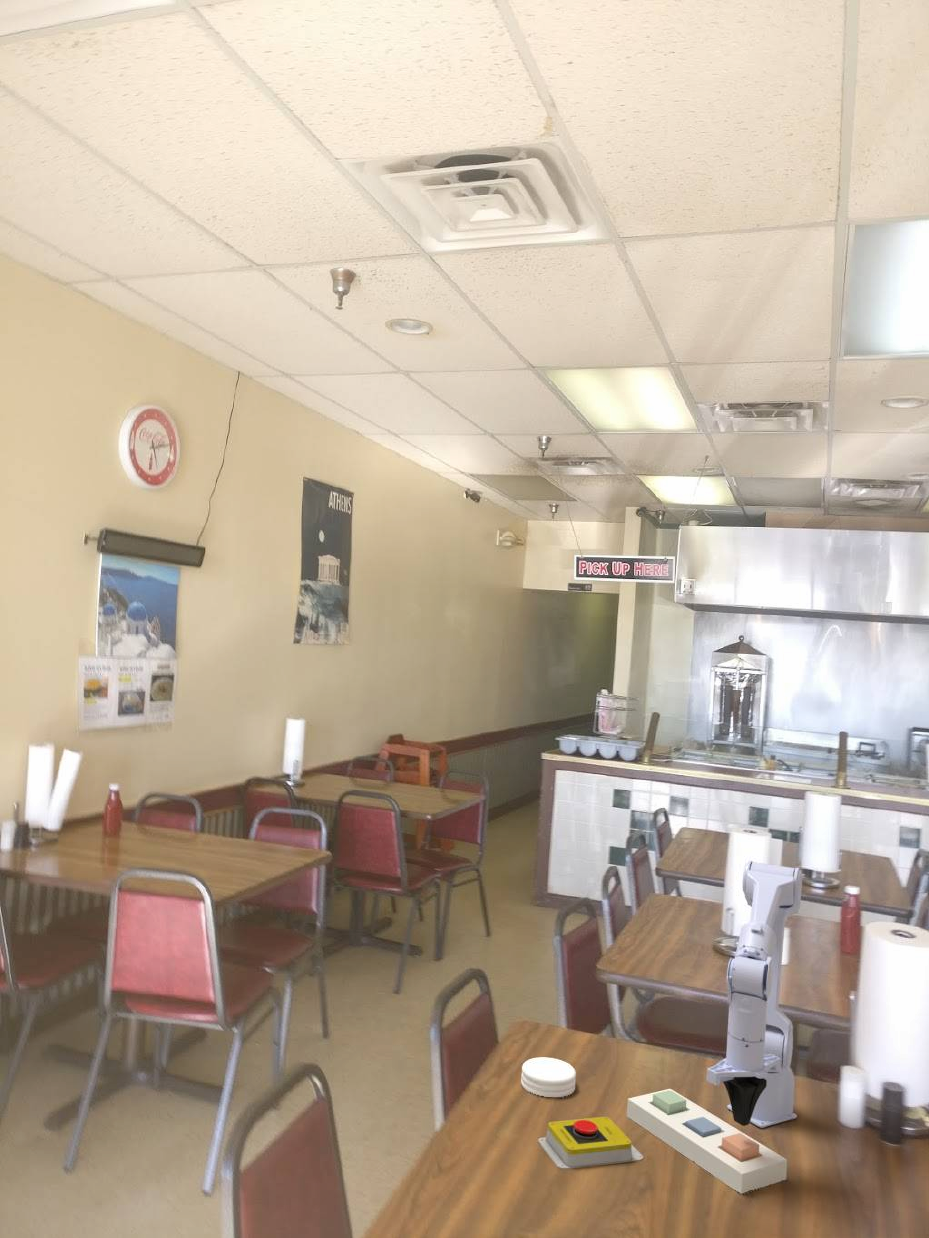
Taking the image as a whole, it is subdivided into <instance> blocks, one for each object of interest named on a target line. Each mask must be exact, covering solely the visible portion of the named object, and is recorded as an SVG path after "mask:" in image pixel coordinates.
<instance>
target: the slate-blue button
mask: <svg viewBox="0 0 929 1238" xmlns="http://www.w3.org/2000/svg"><path fill="white" fill-rule="evenodd" d="M685 1126H686V1127H687V1128H689V1129H690V1130H692V1131H693V1132H695V1133H697V1134H698V1135H700V1136H701V1137H703V1138H704V1137H708V1136H712V1135H715V1134H719V1133H721V1127H719V1126H717V1125H716V1124H714V1123H712V1122H711V1121H709V1120H708V1119H706V1118H704V1117H700V1118H697V1119H693V1120H689V1121H686V1125H685Z"/></svg>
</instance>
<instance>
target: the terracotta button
mask: <svg viewBox="0 0 929 1238" xmlns="http://www.w3.org/2000/svg"><path fill="white" fill-rule="evenodd" d="M722 1150H723V1151H724V1152H726V1153H728V1154H729V1155H731V1156H732V1157H734V1158H735V1159H737V1160H738V1161H740V1162H744V1161H747V1160H750V1159H754V1158H757V1157H759V1144H757V1143H756V1142H754V1141H752V1140H751V1139H749V1138H747V1137H746V1136H744V1135H742V1134H741V1133H738V1134H734V1135H731V1136H727V1137H724V1138H722Z"/></svg>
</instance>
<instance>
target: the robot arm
mask: <svg viewBox="0 0 929 1238" xmlns="http://www.w3.org/2000/svg"><path fill="white" fill-rule="evenodd" d="M802 889H803V872H802V871H801V869H800V868H799V867H789V866H783V865H774V864H769V863H764V862H763V863H762V862H756V861H753V860H748V861H747V862H746V863H745V864H744V867H743V874H742V891H743V895H744V898H745V900H746V903H747V905H748V906H750V907H751V912H750V921H749V922H748V923H746V924H743V926H742V928H741V929H740V933H739V938H738V941H737V942H738V943H737V947H736V951H735V954H734V958H732V957H730V959H729V961H728V964H727V970H726V988H727V1004H728V1005H729V1006H728V1018H727V1019H728V1021H727V1035H726V1036H727V1037H726V1038H727V1039H726V1053H725V1054H726V1057H725V1058H724V1059H721V1060H720V1061H719V1062H718V1063H716V1064H714V1065H713V1066H710V1067H707V1069H706V1081H707V1082H708V1083H710V1084H712V1085H714V1086H715V1087H716V1086H720V1085H721V1083H723V1084H724V1085H723V1086H724V1087H725V1089H726V1092H727V1095H728V1098H729V1102H730V1104H727V1109H728V1110H729V1111H732V1119H733V1121H734V1122H736V1123H737V1124H739V1125H741V1126H742V1127H745V1126H748V1125H750V1123H751V1124H753V1125H755V1126H757V1127H758V1128H765V1127H769V1126H772V1125H777V1124H779V1123H780V1124H781V1123H784V1122H786V1121H790V1120H791V1121H792V1120H794V1119H796V1118H797V1117H798V1116H797V1114H796V1113H794V1098H795V1075H794V1072H793V1070H792V1068H791V1063H792V1057H793V1050H794V1049H793V1047H794V1035H793V1031H794V1025H793V1023H792V1021H791V1020H790V1018H789V1017H788V1016H787V1015H786V1014H785V1013H784V1012H783V1011H782V1010H781V1009H780V1008H779V1002H780V1001H779V999H780V990H781V989H780V987H781V977H782V976H781V974H782V963H783V962H782V961H783V951H784V939H785V938H784V937H785V926H786V923H787V921H788V918H789V916H791V915H795V914H799V910H800V908H801V901H802V900H801V899H802ZM767 1025H768V1026H767Z"/></svg>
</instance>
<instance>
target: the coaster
mask: <svg viewBox="0 0 929 1238" xmlns="http://www.w3.org/2000/svg"><path fill="white" fill-rule="evenodd" d="M520 1075H521V1079H520V1083H521V1086H522V1088H523V1089H524V1090H525V1091H527V1092H528V1093H530V1092H531V1093H530V1094H532V1093H533V1094H532V1095H534V1094H536V1095H535V1096H537V1095H539V1096H538V1097H541V1096H544V1097H543V1098H546V1097H562V1098H565V1097H564V1096H566V1097H569V1096H571V1095H572V1094H573V1093H574V1091H575V1090H576V1080H577V1079H576V1076H577V1072H576V1069H575V1068H574V1067H573V1066H572V1064H570V1063H568V1062H567V1061H564V1060H561V1059H558V1058H554V1057H546V1056H545V1057H543V1056H541V1057H534V1058H530V1059H527V1060H526V1061H524V1062H523V1064H522V1066H521V1074H520ZM570 1094H571V1095H570ZM568 1095H569V1096H568Z"/></svg>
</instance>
